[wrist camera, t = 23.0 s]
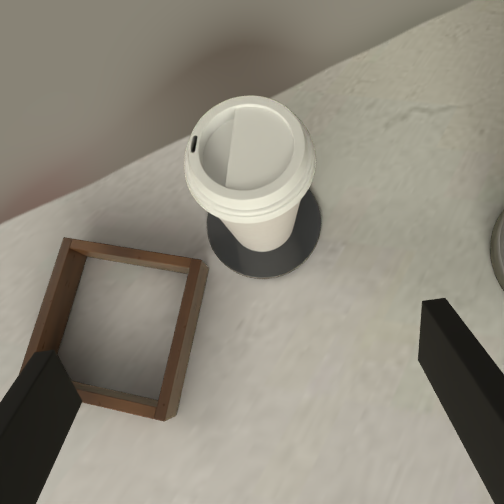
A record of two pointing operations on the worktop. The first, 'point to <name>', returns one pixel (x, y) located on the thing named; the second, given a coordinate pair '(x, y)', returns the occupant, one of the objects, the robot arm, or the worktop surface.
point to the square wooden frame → (59, 309)
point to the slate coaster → (274, 260)
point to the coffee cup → (251, 168)
